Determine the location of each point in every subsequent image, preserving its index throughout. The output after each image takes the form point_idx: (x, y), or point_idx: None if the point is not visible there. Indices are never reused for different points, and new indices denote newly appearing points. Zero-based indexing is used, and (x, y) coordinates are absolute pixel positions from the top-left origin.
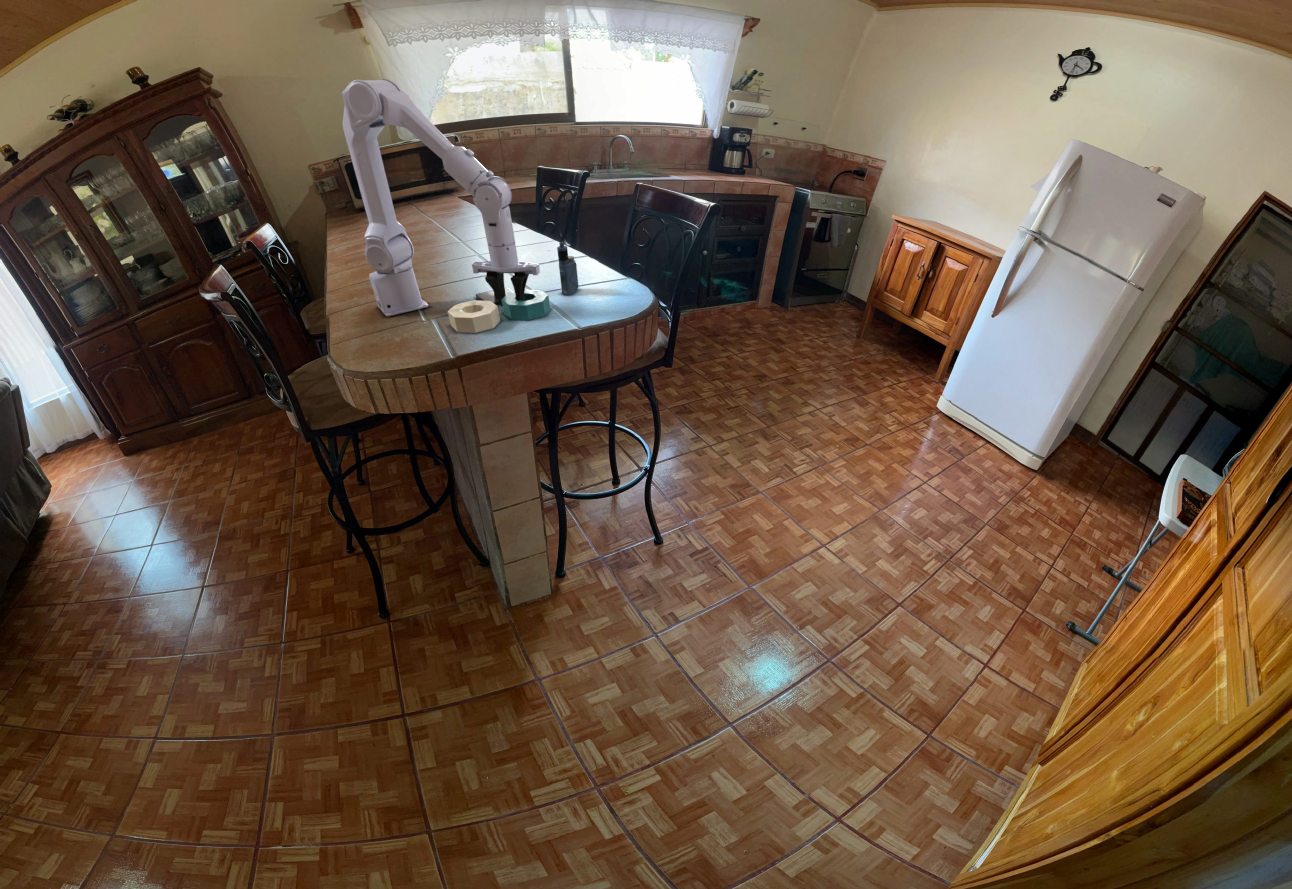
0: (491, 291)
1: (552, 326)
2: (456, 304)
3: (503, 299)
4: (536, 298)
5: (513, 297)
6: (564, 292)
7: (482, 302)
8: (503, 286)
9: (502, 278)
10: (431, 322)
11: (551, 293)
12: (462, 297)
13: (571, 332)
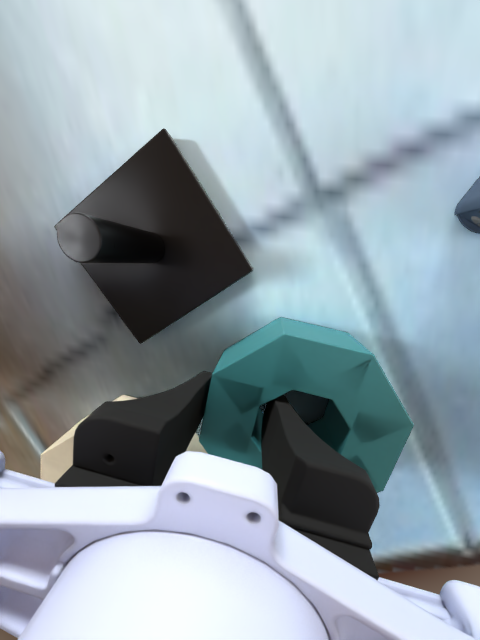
0: (111, 197)
1: (379, 517)
2: (43, 456)
3: (207, 442)
4: (353, 457)
5: (246, 428)
6: (474, 221)
7: None
8: (190, 410)
9: (175, 433)
10: (16, 425)
11: (396, 195)
12: (12, 213)
13: (436, 563)
